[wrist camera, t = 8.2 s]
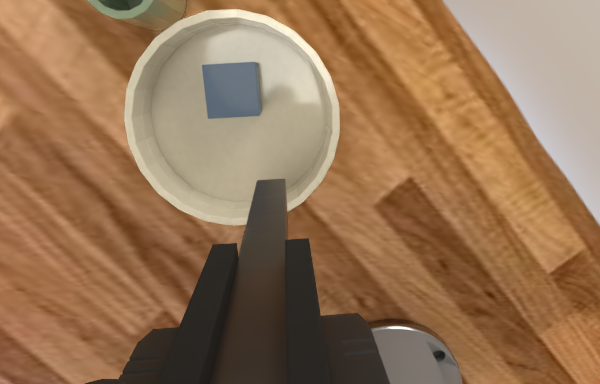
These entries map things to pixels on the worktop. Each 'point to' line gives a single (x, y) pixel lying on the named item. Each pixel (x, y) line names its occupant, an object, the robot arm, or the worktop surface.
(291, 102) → the bowl
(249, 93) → the block
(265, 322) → the chopstick
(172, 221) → the worktop surface
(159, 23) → the utensil pot
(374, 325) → the robot arm
